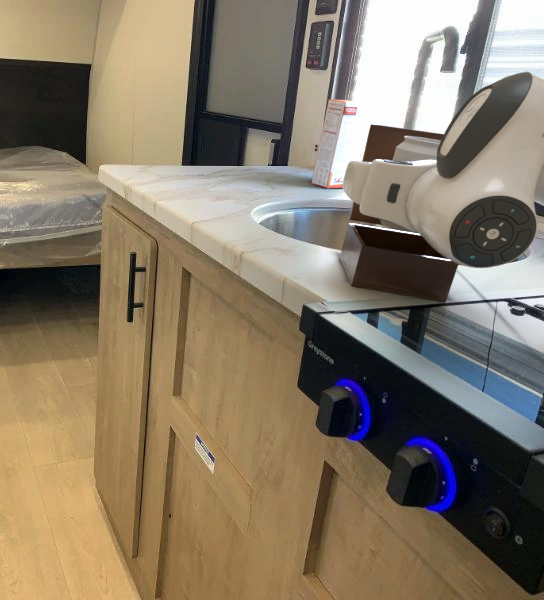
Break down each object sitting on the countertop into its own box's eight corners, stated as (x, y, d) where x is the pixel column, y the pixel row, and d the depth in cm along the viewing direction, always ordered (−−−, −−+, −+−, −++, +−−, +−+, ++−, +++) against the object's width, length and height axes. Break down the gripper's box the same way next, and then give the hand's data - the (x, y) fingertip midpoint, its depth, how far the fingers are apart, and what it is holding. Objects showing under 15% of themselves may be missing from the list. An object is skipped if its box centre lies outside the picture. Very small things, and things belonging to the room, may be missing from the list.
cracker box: (345, 183, 160) (365, 101, 152) (363, 188, 155) (385, 104, 148) (308, 183, 153) (328, 97, 145) (326, 189, 148) (347, 100, 140)
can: (427, 226, 85) (454, 140, 81) (436, 238, 78) (466, 146, 74) (372, 216, 87) (396, 131, 82) (377, 227, 80) (403, 136, 75)
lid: (459, 136, 85) (447, 138, 90) (371, 123, 87) (364, 127, 92) (434, 233, 88) (423, 230, 93) (349, 219, 90) (344, 218, 94)
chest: (445, 302, 79) (459, 262, 76) (351, 286, 80) (361, 246, 78) (421, 271, 91) (432, 236, 89) (339, 257, 92) (348, 222, 90)
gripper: (550, 186, 66) (504, 168, 78) (361, 158, 68) (345, 144, 81) (529, 241, 68) (487, 215, 81) (347, 212, 71) (334, 190, 83)
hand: (415, 179), depth 81 cm, fingers closed on can, 7 cm apart
